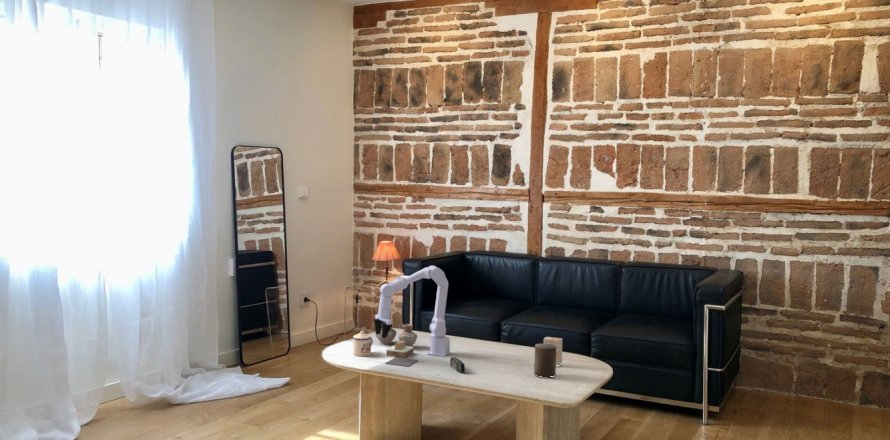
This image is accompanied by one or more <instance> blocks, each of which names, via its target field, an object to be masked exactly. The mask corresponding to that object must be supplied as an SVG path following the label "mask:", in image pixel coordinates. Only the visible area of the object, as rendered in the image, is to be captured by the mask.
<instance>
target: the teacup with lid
mask: <svg viewBox="0 0 890 440" xmlns="http://www.w3.org/2000/svg"><path fill="white" fill-rule="evenodd" d="M352 340H353V344H352V345H353V349H352V351H353V352H352V354H353V355H354V356H355V357H368V356H370V355H371V354H372V346H373V343H374V340H373V338H372V336H371V335H370V334H367V333H366V332H365V331H364V330H360V332H359V333H357V334H354V335H353V336H352Z"/></svg>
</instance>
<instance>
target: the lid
mask: <svg viewBox="0 0 890 440" xmlns="http://www.w3.org/2000/svg"><path fill="white" fill-rule="evenodd" d="M412 348H413V349H414V346H413V347H409V346H405V341H397V342H395V343H394V345H392V346H391V347H389V348H387V349H386V352H387V351H395V352H403V353H406V352H407V351H409V350H411V349H412Z"/></svg>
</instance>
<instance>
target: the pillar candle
mask: <svg viewBox="0 0 890 440" xmlns="http://www.w3.org/2000/svg"><path fill="white" fill-rule="evenodd" d="M533 365H534V369H533V370H534V371H533V375H534V374H535V375H537V376H542V377H550V376H554V375H555V376H556V374H557V373H556V369H557V367H556V346H555V345H553V344H546V343H545V344H544V343H536V344H535V345H534V364H533ZM535 375H534V376H535ZM537 376H536V377H537Z"/></svg>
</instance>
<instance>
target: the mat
mask: <svg viewBox="0 0 890 440" xmlns="http://www.w3.org/2000/svg"><path fill="white" fill-rule="evenodd" d="M419 360H420V359H416V358H408V357H406V358H401V357H393V358H392V359H390V360H388V361H387V362H385V365H391V366H392V365H393V366H397V367H398V366H399V367H407V368H408V367H410V366H412V365H414V364H415V363H418V362H419Z"/></svg>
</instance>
